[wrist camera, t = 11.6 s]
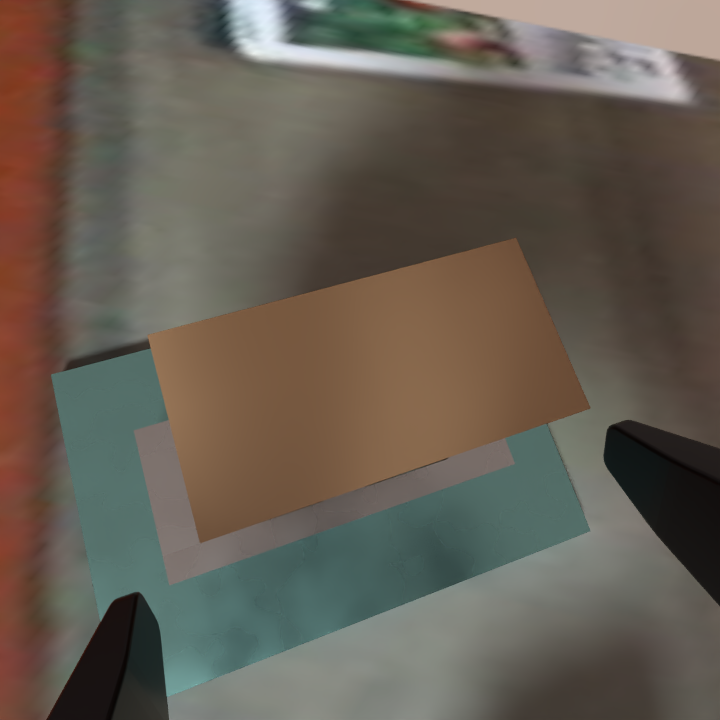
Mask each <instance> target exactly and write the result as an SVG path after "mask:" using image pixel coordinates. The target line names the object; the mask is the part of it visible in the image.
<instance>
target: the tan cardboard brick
mask: <svg viewBox="0 0 720 720" xmlns="http://www.w3.org/2000/svg"><path fill="white" fill-rule="evenodd" d="M148 339H149V343H150V347H151V351H152V355H153V359H154V363H155V367H156V371H157V375H158V379H159V383H160V387H161V391H162V395H163V399H164V403H165V407H166V411H167V415H168V419H169V423H170V427H171V431H172V435H173V439H174V443H175V446H176V450H177V454H178V458H179V462H180V466H181V470H182V474H183V478H184V482H185V486H186V490H187V494H188V498H189V502H190V506H191V510H192V514H193V518H194V522H195V526H196V530H197V534H198V538H199V542H200V543H203V542H206V541H209V540H212V539H214V538H217V537H220V536H223V535H226V534H229V533H232V532H235V531H238V530H240V529H243V528H246V527H249V526H252V525H255V524H258V523H261V522H264V521H266V520H269V519H272V518H275V517H278V516H281V515H284V514H287V513H290V512H292V511H295V510H298V509H301V508H304V507H307V506H310V505H313V504H316V503H319V502H321V501H324V500H327V499H330V498H333V497H336V496H339V495H342V494H345V493H347V492H350V491H353V490H356V489H359V488H362V487H365V486H368V485H371V484H373V483H376V482H379V481H382V480H385V479H388V478H391V477H394V476H397V475H399V474H402V473H405V472H408V471H411V470H414V469H417V468H420V467H423V466H425V465H428V464H431V463H434V462H437V461H440V460H443V459H446V458H449V457H451V456H454V455H457V454H460V453H463V452H466V451H469V450H472V449H475V448H477V447H480V446H483V445H486V444H489V443H492V442H495V441H498V440H501V439H504V438H506V437H509V436H512V435H515V434H518V433H521V432H524V431H527V430H530V429H532V428H535V427H538V426H541V425H544V424H547V423H550V422H553V421H556V420H558V419H561V418H564V417H567V416H570V415H573V414H576V413H579V412H582V411H584V410H587V409H590V406H589V403H588V401H587V399H586V397H585V394H584V392H583V390H582V387H581V385H580V383H579V381H578V378H577V376H576V374H575V371H574V369H573V367H572V364H571V362H570V360H569V358H568V355H567V353H566V351H565V348H564V346H563V344H562V342H561V339H560V337H559V335H558V332H557V330H556V328H555V326H554V323H553V321H552V319H551V316H550V314H549V312H548V310H547V307H546V305H545V303H544V300H543V298H542V296H541V294H540V291H539V289H538V287H537V284H536V282H535V280H534V278H533V275H532V273H531V271H530V268H529V266H528V264H527V262H526V259H525V257H524V255H523V252H522V250H521V248H520V246H519V243H518V241H517V239H516V238H513V239H510V240H506V241H502V242H498V243H494V244H491V245H487V246H483V247H479V248H475V249H472V250H468V251H464V252H460V253H456V254H453V255H449V256H445V257H441V258H437V259H434V260H430V261H426V262H422V263H419V264H415V265H411V266H407V267H403V268H400V269H396V270H392V271H388V272H384V273H381V274H377V275H373V276H369V277H365V278H362V279H358V280H354V281H350V282H347V283H343V284H339V285H335V286H331V287H328V288H324V289H320V290H316V291H312V292H309V293H305V294H301V295H297V296H293V297H290V298H286V299H282V300H278V301H274V302H271V303H267V304H263V305H259V306H256V307H252V308H248V309H244V310H240V311H237V312H233V313H229V314H225V315H221V316H218V317H214V318H210V319H206V320H202V321H199V322H195V323H191V324H187V325H183V326H180V327H176V328H172V329H168V330H165V331H161V332H157V333H153V334H149V335H148Z"/></svg>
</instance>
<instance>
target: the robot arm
mask: <svg viewBox="0 0 720 720" xmlns="http://www.w3.org/2000/svg"><path fill="white" fill-rule="evenodd" d="M604 462H605V465H606V467H607V468H608V470H609V471H610V473H611V474H612V476H613V477H614V478H615V480H616V481H617V482H618V484H619V485H620V486H621V488H622V489H623V491H624V492H625V493H626V495H627V496H628V497H629V499H630V500H631V502H632V503H633V504H634V506H635V507H636V508H637V510H638V511H639V512H640V514H641V515H642V517H643V518H644V519H645V521H646V522H647V523H648V525H649V526H650V527H651V528H652V530H653V531H654V532H655V533H656V535H657V536H658V537H659V538H660V539H661V541H662V542H663V543H664V544H665V545H666V546H667V547H668V549H669V550H670V551H671V552H672V553H673V554H674V555H675V556H676V558H677V559H678V560H679V561H680V562H681V563H682V564H683V565H684V567H685V568H686V569H687V570H688V571H689V572H690V573H691V574H692V576H693V577H694V578H695V579H696V580H697V581H698V582H699V583H700V585H701V586H702V587H703V588H704V589H705V590H706V591H707V592H708V594H709V595H710V596H711V597H712V598H713V599H714V600H715V601H716V603H717V604H718V605H719V606H720V449H719V448H716V447H713V446H710V445H707V444H704V443H701V442H698V441H694V440H691V439H688V438H685V437H682V436H679V435H676V434H673V433H670V432H666V431H663V430H660V429H657V428H654V427H651V426H648V425H645V424H642V423H639V422H635V421H632V420H624V421H621V422H618V423H616V424H613V425H611V426H609V428H608V429H607V433H606V441H605V448H604ZM46 720H169V715H168V704H167V694H166V684H165V674H164V663H163V653H162V643H161V634H160V628H159V624H158V621H157V619H156V617H155V615H154V614H153V612H152V610H151V608H150V607H149V605H148V603H147V601H146V600H145V598H144V596H143V595H142V594H141V593H140V592H133V593H130V594H128V595H125V596H122V597H119V598H117V599H115V600H114V601H113V602H112V603H111V604H110V606H109V607H108V609H107V611H106V613H105V615H104V616H103V618H102V620H101V622H100V624H99V625H98V627H97V629H96V631H95V633H94V634H93V636H92V638H91V640H90V642H89V644H88V645H87V647H86V649H85V651H84V653H83V654H82V656H81V658H80V660H79V662H78V663H77V665H76V667H75V669H74V671H73V672H72V674H71V676H70V678H69V680H68V681H67V683H66V685H65V687H64V689H63V690H62V692H61V694H60V696H59V698H58V700H57V701H56V703H55V705H54V707H53V709H52V710H51V712H50V714H49V716H48V718H47V719H46Z"/></svg>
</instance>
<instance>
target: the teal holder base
mask: <svg viewBox="0 0 720 720" xmlns="http://www.w3.org/2000/svg"><path fill="white" fill-rule="evenodd" d="M51 377H52V382H53V387H54V392H55V397H56V402H57V407H58V412H59V417H60V422H61V427H62V432H63V437H64V442H65V447H66V452H67V457H68V462H69V467H70V472H71V477H72V482H73V487H74V492H75V497H76V502H77V507H78V512H79V517H80V522H81V527H82V532H83V537H84V542H85V547H86V552H87V557H88V562H89V567H90V572H91V577H92V582H93V587H94V592H95V597H96V602H97V607H98V612H99V618H100V622H101V620H102V618H103V616H104V615H105V613H106V611H107V609H108V607H109V606H110V604H111V603H112V602H113V601H114V600H115V599H117V598H119V597H122V596H125V595H128V594H130V593H133V592H140V593H141V594H142V595H143V596H144V598H145V600H146V601H147V603H148V605H149V607H150V608H151V610H152V612H153V614H154V615H155V617H156V619H157V621H158V624H159V628H160V634H161V643H162V653H163V663H164V674H165V684H166V694H167V697H168V696H171V695H173V694H176V693H179V692H181V691H184V690H186V689H189V688H191V687H194V686H196V685H199V684H202V683H204V682H207V681H209V680H212V679H214V678H217V677H219V676H222V675H224V674H227V673H230V672H232V671H235V670H237V669H240V668H242V667H245V666H247V665H250V664H253V663H255V662H258V661H260V660H263V659H265V658H268V657H270V656H273V655H275V654H278V653H281V652H283V651H286V650H288V649H291V648H293V647H296V646H298V645H301V644H304V643H306V642H309V641H311V640H314V639H316V638H319V637H321V636H324V635H326V634H329V633H332V632H334V631H337V630H339V629H342V628H344V627H347V626H349V625H352V624H355V623H357V622H360V621H362V620H365V619H367V618H370V617H372V616H375V615H377V614H380V613H383V612H385V611H388V610H390V609H393V608H395V607H398V606H400V605H403V604H405V603H408V602H411V601H413V600H416V599H418V598H421V597H423V596H426V595H428V594H431V593H434V592H436V591H439V590H441V589H444V588H446V587H449V586H451V585H454V584H456V583H459V582H462V581H464V580H467V579H469V578H472V577H474V576H477V575H479V574H482V573H485V572H487V571H490V570H492V569H495V568H497V567H500V566H502V565H505V564H507V563H510V562H513V561H515V560H518V559H520V558H523V557H525V556H528V555H530V554H533V553H536V552H538V551H541V550H543V549H546V548H548V547H551V546H553V545H556V544H558V543H561V542H564V541H566V540H569V539H571V538H574V537H576V536H579V535H581V534H584V533H587V532H589V531H590V528H589V526H588V523H587V521H586V519H585V516H584V514H583V511H582V509H581V506H580V504H579V502H578V499H577V497H576V494H575V492H574V489H573V487H572V484H571V482H570V480H569V477H568V475H567V472H566V470H565V467H564V465H563V463H562V460H561V458H560V455H559V453H558V450H557V448H556V445H555V443H554V441H553V438H552V436H551V433H550V431H549V428H548V426H547V424H544V425H541V426H538V427H535V428H532V429H530V430H527V431H524V432H521V433H518V434H515V435H512V436H509V437H506V438H504V439H501V440H498V441H495V442H492V443H489V444H486V445H483V446H480V447H477V448H475V449H472V450H469V451H466V452H463V453H460V454H457V455H454V456H451V457H449V458H446V459H443V460H440V461H437V462H434V463H431V464H428V465H425V466H423V467H420V468H417V469H414V470H411V471H408V472H405V473H402V474H399V475H397V476H394V477H391V478H388V479H385V480H382V481H379V482H376V483H373V484H371V485H368V486H365V487H362V488H359V489H356V490H353V491H350V492H347V493H345V494H342V495H339V496H336V497H333V498H330V499H327V500H324V501H321V502H319V503H316V504H313V505H310V506H307V507H304V508H301V509H298V510H295V511H292V512H290V513H287V514H284V515H281V516H278V517H275V518H272V519H269V520H266V521H264V522H261V523H258V524H255V525H252V526H249V527H246V528H243V529H240V530H238V531H235V532H232V533H229V534H226V535H223V536H220V537H217V538H214V539H212V540H209V541H206V542H203V543H200V542H199V538H198V534H197V530H196V526H195V522H194V518H193V514H192V510H191V506H190V502H189V498H188V494H187V490H186V486H185V482H184V478H183V474H182V470H181V466H180V462H179V458H178V454H177V450H176V446H175V443H174V439H173V435H172V431H171V427H170V423H169V419H168V415H167V411H166V407H165V403H164V399H163V395H162V391H161V387H160V383H159V379H158V375H157V371H156V367H155V363H154V359H153V355H152V351H151V348H150V349H147V350H143V351H139V352H135V353H131V354H128V355H124V356H120V357H116V358H112V359H109V360H105V361H101V362H97V363H94V364H90V365H86V366H82V367H78V368H75V369H71V370H67V371H63V372H60V373H56V374H52V375H51Z"/></svg>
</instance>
